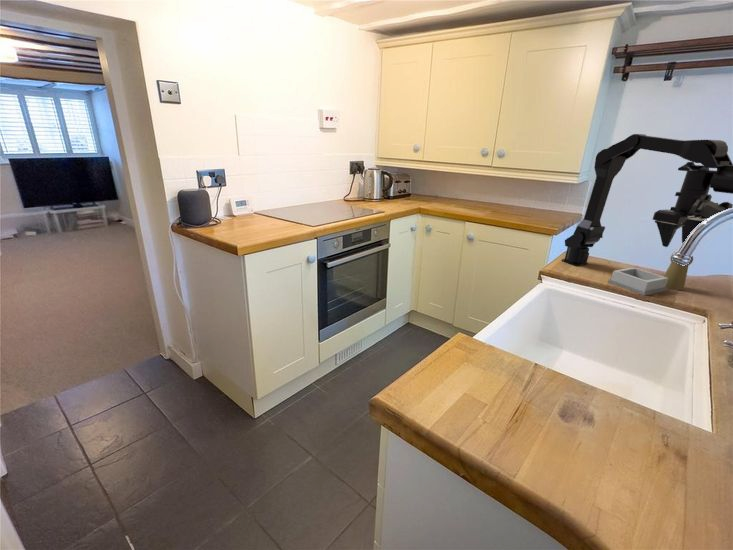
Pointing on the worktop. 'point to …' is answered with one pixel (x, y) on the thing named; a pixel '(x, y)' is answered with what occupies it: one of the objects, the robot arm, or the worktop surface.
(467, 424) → the worktop surface
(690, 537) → the worktop surface
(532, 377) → the worktop surface
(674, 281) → the cork
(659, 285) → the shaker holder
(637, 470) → the worktop surface
